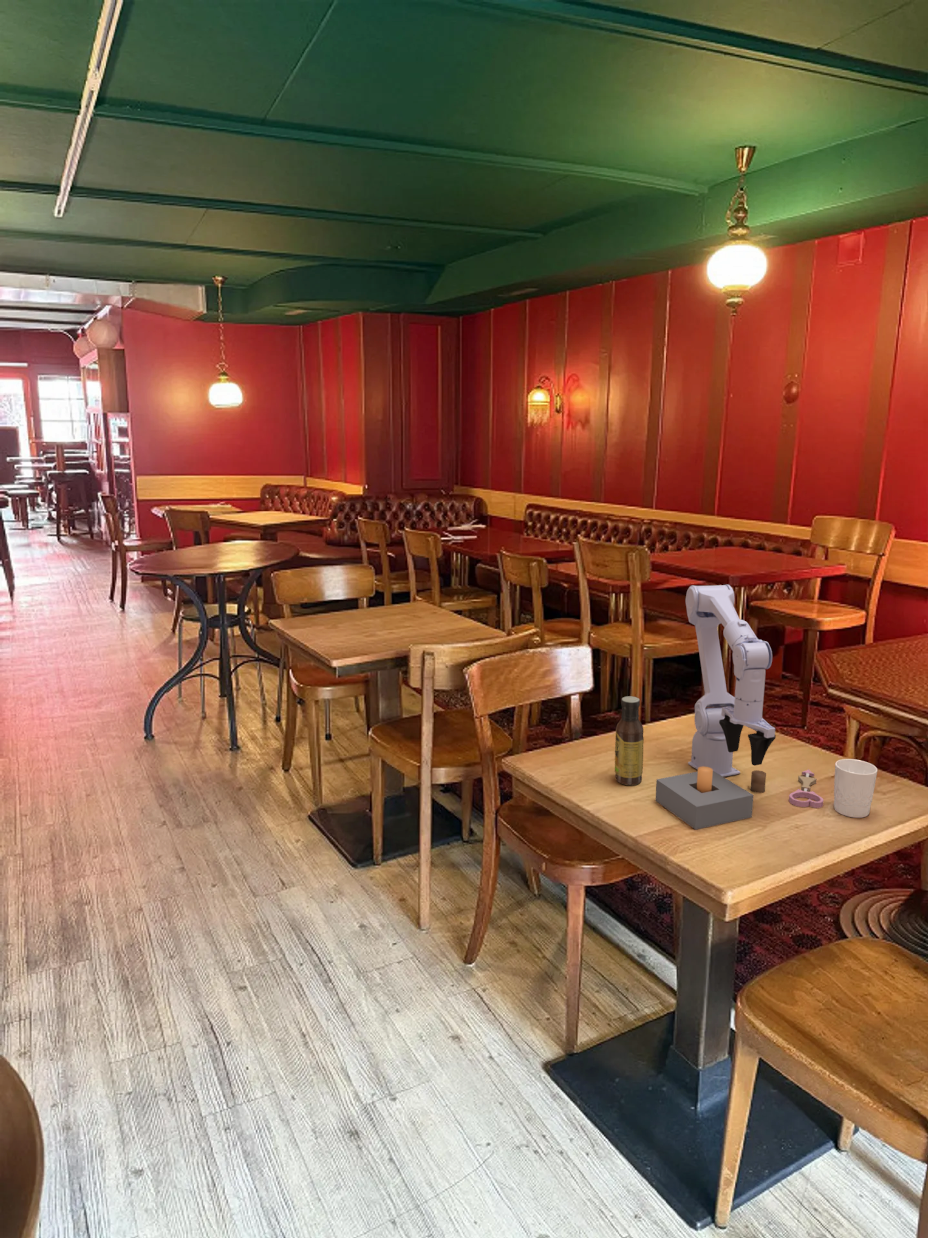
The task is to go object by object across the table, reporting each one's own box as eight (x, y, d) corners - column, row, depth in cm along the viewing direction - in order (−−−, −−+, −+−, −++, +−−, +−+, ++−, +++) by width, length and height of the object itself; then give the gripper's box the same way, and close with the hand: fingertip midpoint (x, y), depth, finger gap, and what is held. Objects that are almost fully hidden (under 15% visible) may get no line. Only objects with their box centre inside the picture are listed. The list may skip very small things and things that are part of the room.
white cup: (852, 822, 166) (857, 777, 163) (822, 806, 173) (826, 762, 170) (880, 815, 169) (886, 770, 166) (850, 799, 176) (855, 756, 173)
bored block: (655, 800, 176) (656, 779, 175) (709, 790, 181) (710, 769, 180) (695, 829, 163) (696, 806, 162) (751, 817, 168) (753, 795, 167)
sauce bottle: (618, 773, 190) (621, 692, 186) (645, 778, 187) (648, 696, 183) (610, 783, 185) (613, 700, 180) (637, 789, 182) (641, 704, 177)
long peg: (692, 806, 173) (695, 767, 171) (704, 804, 174) (707, 765, 172) (700, 813, 170) (703, 773, 168) (712, 810, 171) (715, 771, 169)
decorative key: (826, 769, 188) (822, 805, 170) (825, 774, 188) (822, 810, 171) (794, 764, 191) (788, 799, 173) (794, 769, 191) (787, 804, 174)
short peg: (747, 788, 182) (748, 771, 181) (758, 786, 183) (759, 769, 182) (756, 793, 179) (758, 777, 178) (767, 791, 180) (769, 774, 179)
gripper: (711, 690, 177) (707, 748, 180) (757, 711, 164) (752, 773, 167) (737, 686, 179) (733, 743, 182) (785, 706, 166) (779, 768, 169)
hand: (744, 757), depth 175 cm, fingers open, 7 cm apart
